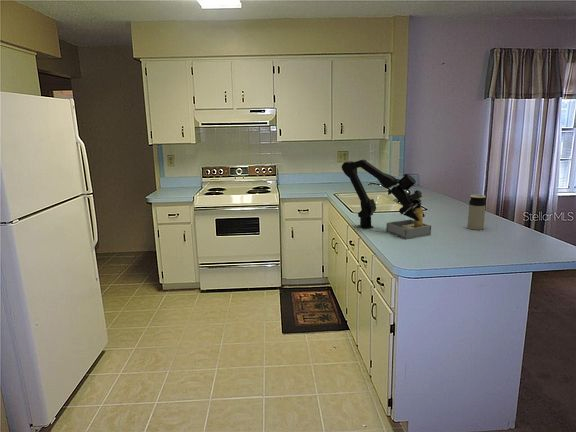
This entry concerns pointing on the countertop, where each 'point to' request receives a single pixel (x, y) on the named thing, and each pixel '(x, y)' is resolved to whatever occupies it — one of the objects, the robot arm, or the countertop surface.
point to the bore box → (408, 229)
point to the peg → (420, 216)
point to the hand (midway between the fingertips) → (421, 218)
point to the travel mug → (476, 212)
